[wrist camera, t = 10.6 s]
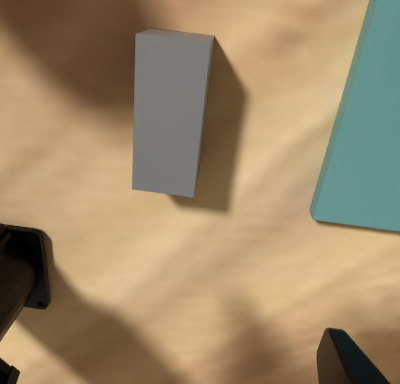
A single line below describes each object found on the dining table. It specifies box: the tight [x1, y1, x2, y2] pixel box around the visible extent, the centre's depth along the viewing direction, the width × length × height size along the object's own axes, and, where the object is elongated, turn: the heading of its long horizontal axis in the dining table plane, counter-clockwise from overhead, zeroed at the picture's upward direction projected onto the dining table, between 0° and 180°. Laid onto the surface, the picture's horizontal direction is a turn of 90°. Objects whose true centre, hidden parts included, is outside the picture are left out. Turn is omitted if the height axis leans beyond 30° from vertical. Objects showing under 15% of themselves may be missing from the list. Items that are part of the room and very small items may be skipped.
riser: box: [132, 28, 215, 198], centre depth 18 cm, size 7×3×3 cm, turn 174°
